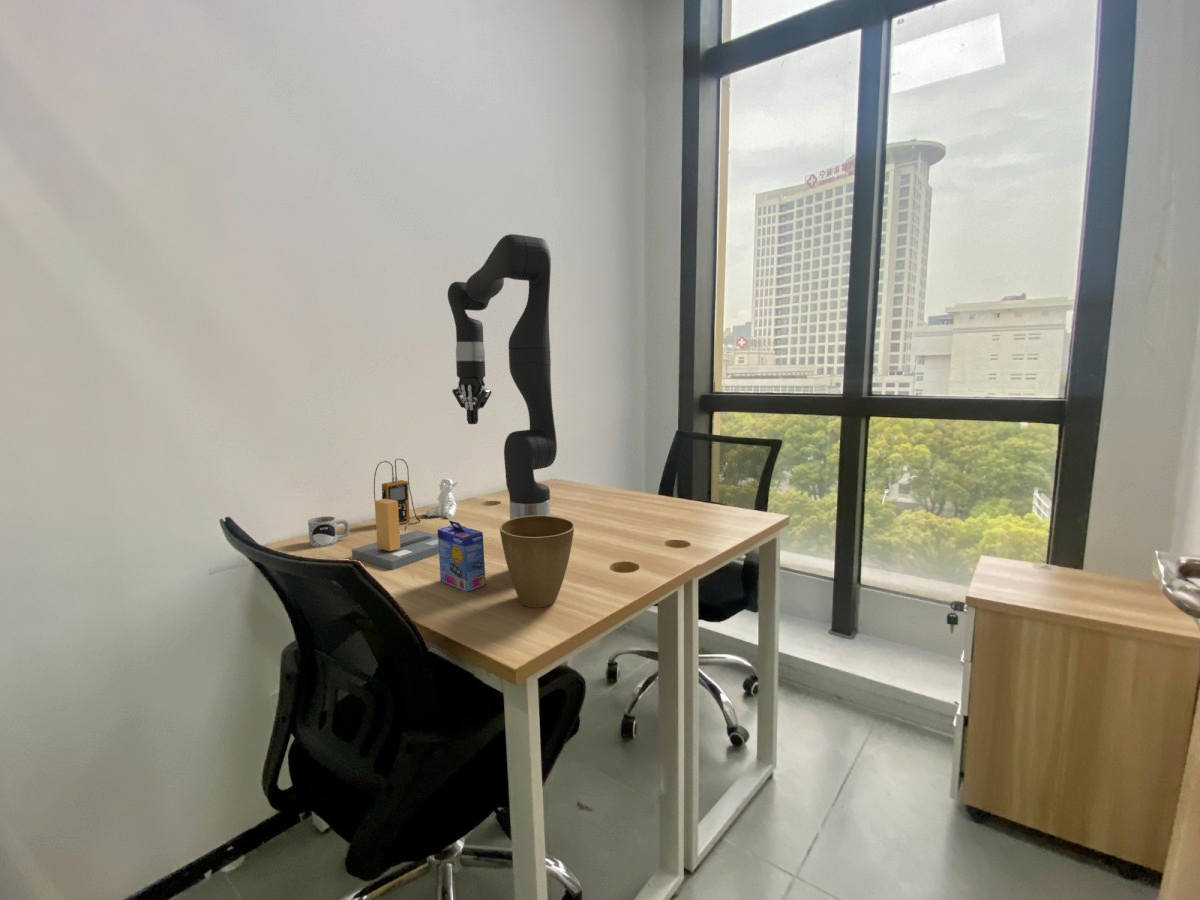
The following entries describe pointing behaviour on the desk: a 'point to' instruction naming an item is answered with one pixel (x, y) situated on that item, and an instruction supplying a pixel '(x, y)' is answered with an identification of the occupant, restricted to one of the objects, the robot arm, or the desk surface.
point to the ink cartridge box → (461, 557)
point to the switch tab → (387, 524)
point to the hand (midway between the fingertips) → (472, 423)
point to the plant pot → (537, 556)
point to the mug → (325, 531)
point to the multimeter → (398, 495)
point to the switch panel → (400, 550)
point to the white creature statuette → (445, 501)
